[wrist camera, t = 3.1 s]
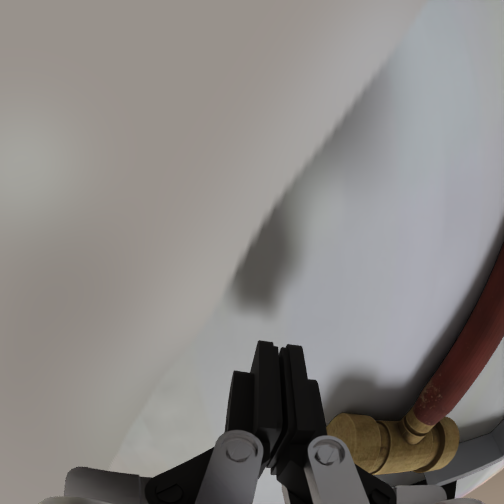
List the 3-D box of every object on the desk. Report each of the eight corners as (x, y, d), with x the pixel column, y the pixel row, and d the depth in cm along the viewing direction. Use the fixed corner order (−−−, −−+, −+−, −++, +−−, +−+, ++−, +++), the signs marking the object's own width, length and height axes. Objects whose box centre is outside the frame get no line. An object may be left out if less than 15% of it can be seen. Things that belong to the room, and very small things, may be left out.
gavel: (528, 133, 6) (590, 226, 7) (465, 133, 10) (546, 209, 11) (319, 492, 12) (429, 480, 13) (311, 439, 17) (413, 441, 17)
